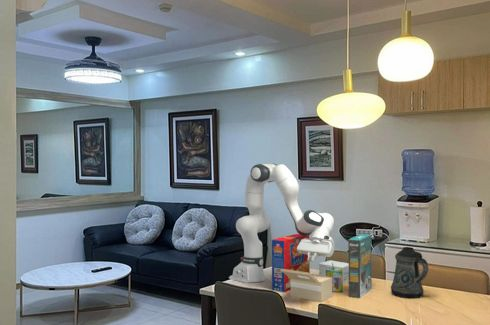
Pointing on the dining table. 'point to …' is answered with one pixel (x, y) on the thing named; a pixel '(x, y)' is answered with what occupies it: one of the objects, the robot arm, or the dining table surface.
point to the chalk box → (335, 278)
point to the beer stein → (408, 274)
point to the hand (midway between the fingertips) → (310, 260)
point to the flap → (299, 275)
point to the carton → (312, 288)
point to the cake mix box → (359, 265)
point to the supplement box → (336, 265)
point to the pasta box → (287, 260)
